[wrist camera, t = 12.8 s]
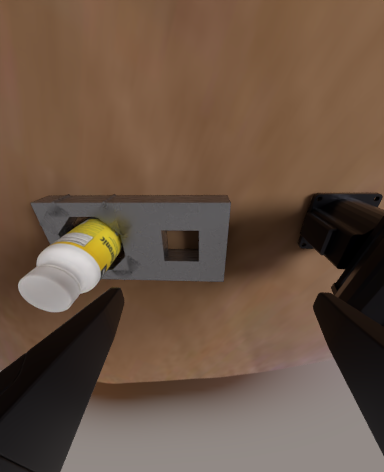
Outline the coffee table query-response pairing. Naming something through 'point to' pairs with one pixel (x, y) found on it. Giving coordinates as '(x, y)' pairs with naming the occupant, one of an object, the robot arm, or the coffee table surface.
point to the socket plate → (149, 232)
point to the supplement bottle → (71, 266)
